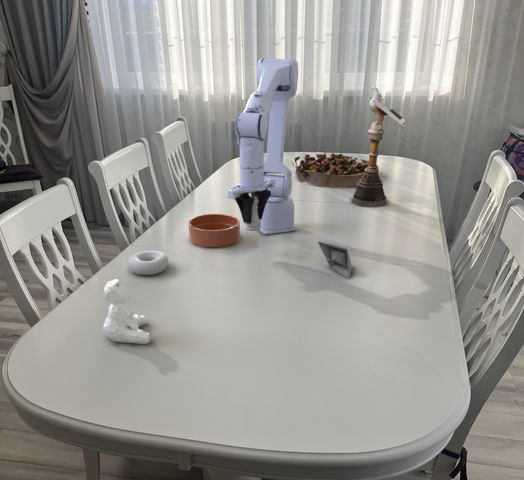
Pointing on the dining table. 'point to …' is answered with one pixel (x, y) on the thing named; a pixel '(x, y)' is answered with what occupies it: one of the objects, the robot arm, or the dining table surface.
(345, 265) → the grey rectangular frame
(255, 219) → the rook chess piece
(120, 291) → the sitting furry creature
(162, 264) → the donut
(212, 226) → the bowl
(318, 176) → the food dish
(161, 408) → the dining table surface
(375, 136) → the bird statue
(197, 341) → the dining table surface
